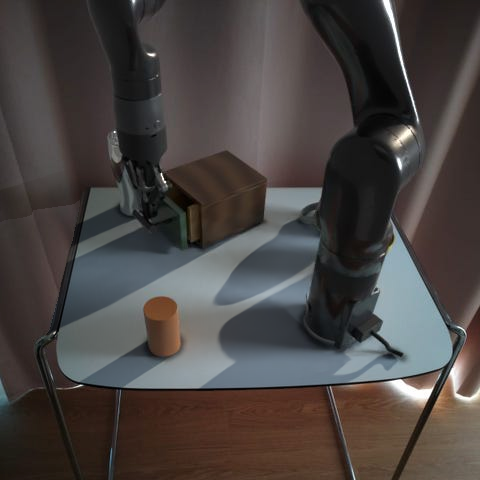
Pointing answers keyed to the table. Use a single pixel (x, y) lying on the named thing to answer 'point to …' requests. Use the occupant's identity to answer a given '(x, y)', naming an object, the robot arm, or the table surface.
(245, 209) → the cabinet
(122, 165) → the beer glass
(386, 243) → the robot arm
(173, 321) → the orange cylinder
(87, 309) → the table surface
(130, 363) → the table surface
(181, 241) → the drawer
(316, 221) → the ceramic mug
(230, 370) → the table surface
